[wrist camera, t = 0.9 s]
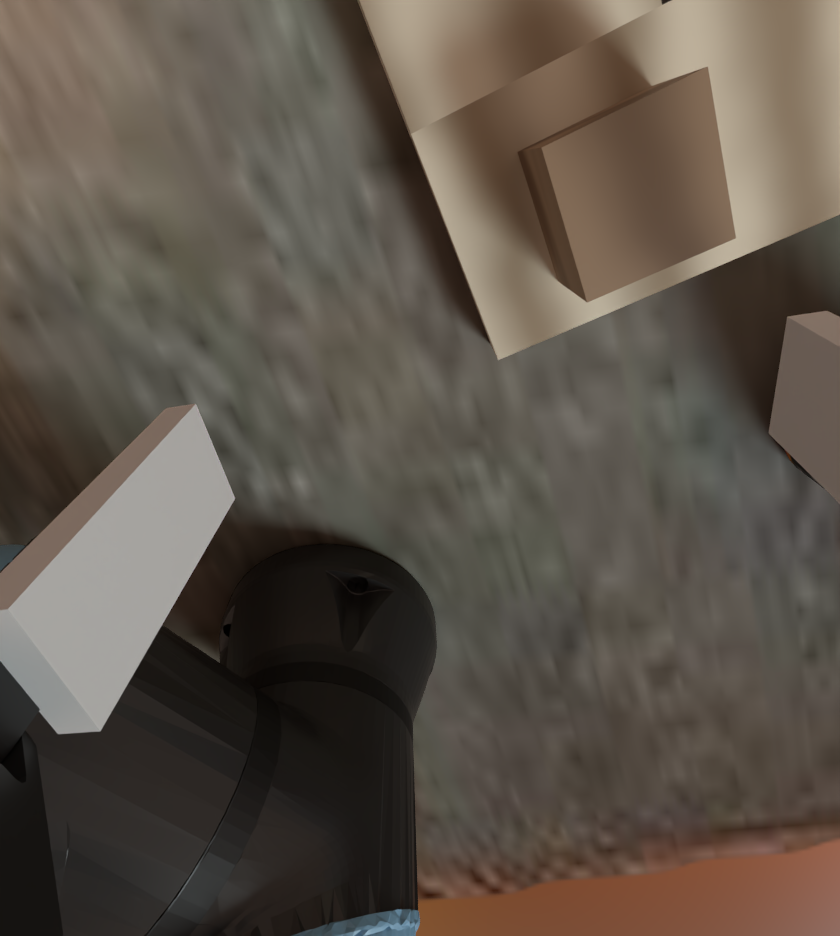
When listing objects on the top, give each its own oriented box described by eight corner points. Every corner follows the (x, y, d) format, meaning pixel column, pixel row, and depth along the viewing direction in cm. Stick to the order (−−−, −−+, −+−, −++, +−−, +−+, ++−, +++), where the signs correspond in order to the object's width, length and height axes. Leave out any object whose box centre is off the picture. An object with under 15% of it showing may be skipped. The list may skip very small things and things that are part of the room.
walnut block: (557, 281, 27) (587, 302, 23) (517, 152, 25) (541, 147, 20) (680, 227, 26) (735, 238, 22) (651, 86, 24) (707, 66, 19)
